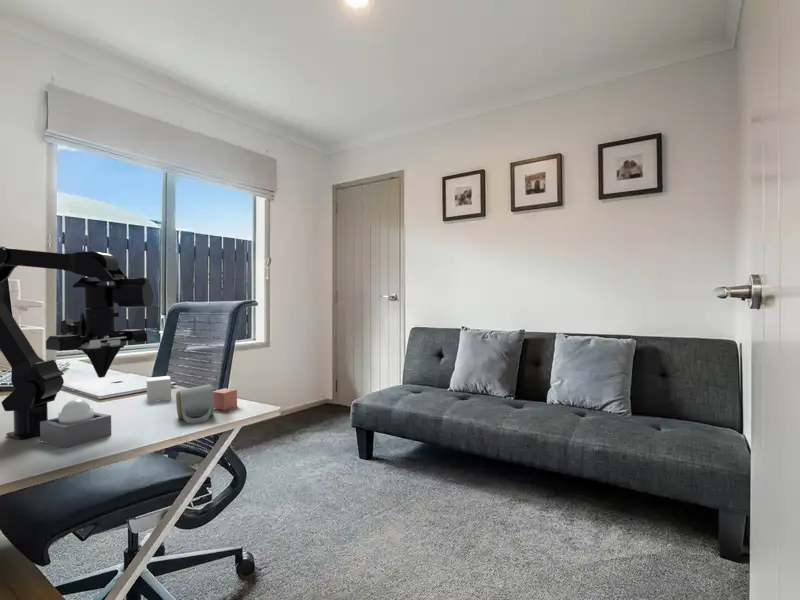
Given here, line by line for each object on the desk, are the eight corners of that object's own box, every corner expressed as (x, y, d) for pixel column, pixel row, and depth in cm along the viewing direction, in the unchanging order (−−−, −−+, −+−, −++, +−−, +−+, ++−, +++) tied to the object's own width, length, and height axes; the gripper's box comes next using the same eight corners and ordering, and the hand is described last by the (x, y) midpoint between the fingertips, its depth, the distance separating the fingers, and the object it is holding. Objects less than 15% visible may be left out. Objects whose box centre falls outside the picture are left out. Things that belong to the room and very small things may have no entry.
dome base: (40, 441, 90) (40, 421, 90) (87, 429, 98) (86, 410, 98) (64, 448, 86) (64, 427, 86) (111, 434, 94) (111, 415, 94)
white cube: (146, 398, 128) (146, 377, 128) (169, 395, 131) (169, 375, 131) (147, 402, 123) (147, 381, 122) (171, 399, 126) (170, 378, 126)
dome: (52, 425, 91) (51, 401, 90) (83, 417, 96) (83, 395, 96) (68, 428, 88) (68, 404, 88) (99, 420, 93) (99, 398, 93)
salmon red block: (211, 408, 115) (211, 391, 115) (225, 404, 119) (224, 387, 119) (223, 410, 113) (223, 392, 113) (237, 406, 117) (236, 389, 117)
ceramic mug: (175, 415, 108) (175, 385, 108) (210, 410, 113) (210, 381, 112) (179, 427, 99) (178, 394, 99) (217, 421, 104) (217, 390, 103)
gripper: (119, 306, 109) (121, 368, 109) (30, 309, 92) (32, 382, 92) (148, 306, 104) (149, 371, 104) (60, 309, 87) (62, 386, 87)
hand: (101, 377), depth 97 cm, fingers closed
